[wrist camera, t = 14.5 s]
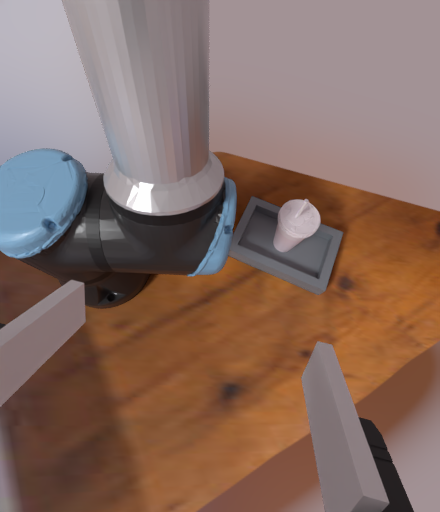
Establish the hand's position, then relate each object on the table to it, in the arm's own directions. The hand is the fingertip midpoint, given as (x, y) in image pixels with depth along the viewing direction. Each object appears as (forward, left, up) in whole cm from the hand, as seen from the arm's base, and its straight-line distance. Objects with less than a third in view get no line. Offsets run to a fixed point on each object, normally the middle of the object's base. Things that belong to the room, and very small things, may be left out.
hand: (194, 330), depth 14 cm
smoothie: (+5, +23, -29) cm, 37 cm away
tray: (+5, +22, -29) cm, 37 cm away
